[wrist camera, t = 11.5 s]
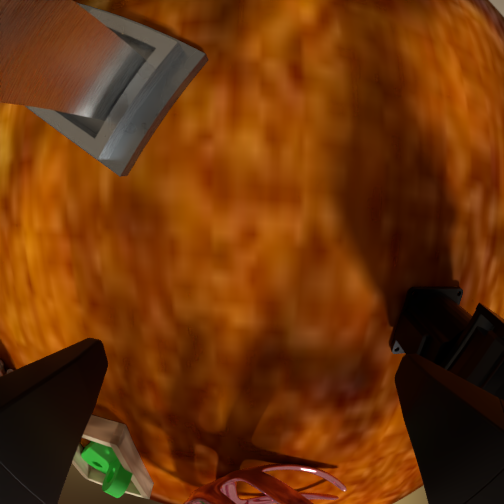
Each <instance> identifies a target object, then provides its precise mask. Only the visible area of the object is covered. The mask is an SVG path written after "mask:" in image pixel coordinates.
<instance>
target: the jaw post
mask: <svg viewBox="0 0 504 504" xmlns="http://www.w3.org/2000/svg"><path fill="white" fill-rule="evenodd" d="M146 61H147V60H145V59H144V58H143V57H142V56H141V55H140V54H139V53H137V52H136V51H135V50H134V49H133V48H132V47H130V46H129V45H128V44H127V43H126V42H125V41H123V40H122V39H121V38H120V37H119V36H117V35H116V34H115V33H114V32H113V31H111V30H110V29H109V28H108V27H106V26H105V25H104V24H103V23H101V22H100V21H99V20H98V19H96V18H95V17H94V16H93V15H91V14H90V13H89V12H87V11H86V10H85V9H83V8H82V7H81V6H79V5H78V4H77V3H75V2H74V1H73V0H0V102H2V103H10V104H17V105H25V106H31V107H37V108H43V109H49V110H55V111H60V112H65V113H70V114H75V115H80V116H85V117H89V118H94V119H98V120H102V121H105V120H106V119H107V117H108V115H109V114H110V112H111V111H112V109H113V107H114V106H115V104H116V103H117V101H118V100H119V98H120V97H121V95H122V94H123V92H124V91H125V89H126V88H127V86H128V85H129V83H130V82H131V81H132V79H133V78H134V76H135V75H136V74H137V72H138V71H139V70H140V68H141V67H142V66H143V64H144V63H145V62H146Z"/></svg>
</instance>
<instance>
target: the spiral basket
mask: <svg viewBox="0 0 504 504" xmlns="http://www.w3.org/2000/svg"><path fill="white" fill-rule="evenodd" d="M273 470H297V471H303V472H308V473H311V474H314V475H317V476H320V477H322V478H324V479H326V480H328V481H330V482H331V483H333V484H334V485H335V486H337V487H338V488H339V489H341V490H342V491H346V487H345V485H344V484H343V483H342V482H341V481H339V480H338V479H337V478H335V477H334V476H332V475H331V474H329V473H327V472H325V471H323V470H320V469H317V468H314V467H310V466H306V465H300V464H268V465H261V466H255V467H249V468H244V469H240V470H236V471H233V472H230V473H228V474H227V475H225V476H223V477H221V478H219V479H217V480H215V481H213V482H211V483H209V484H206V485H203V486H201V487H199V488H197V489H196V490H194V491H193V492H192V493H191V494H190V496H189V498H188V499H187V501H186V502H185V503H184V504H273V503H277V504H313V503H312V502H311V501H309V500H308V499H329V500H335V499H338V497H337V496H334V495H329V494H320V493H299V492H297V491H296V490H294V489H293V488H291V487H290V486H288V485H287V484H285V483H283V482H282V481H280V480H278V479H277V478H275V477H273V476H271V475H269V474H266V473H264V472H266V471H273ZM237 481H244V482H247V483H249V484H250V485H252V486H253V487H255V488H256V489H258V490H259V491H261V492H262V493H264V494H265V496H259V497H254V498H249V499H240V498H239V497H238V494H237Z"/></svg>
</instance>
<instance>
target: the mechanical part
mask: <svg viewBox="0 0 504 504" xmlns="http://www.w3.org/2000/svg"><path fill="white" fill-rule="evenodd" d="M81 457H82V458H83V460H84V461H85V462H87V463H88V464H89V465H91V466H92V467H94V468H95V469H97V470H99V471H100V472H102V473H104V474H106V476H105V478H104V481H103V485H102V490H103V491H104V492H106V493H108V494H110V495H112V496H114V497H116V498H119V497H121V496H122V495H123V494H124V492H125V491H126V489H127V488H128V486H129V483H130V481H131V478H132V475H133V473H131V472H129V471H127V470H125V469H124V468H123V466H122V464H121V463H120V461H119V459H118V458H117V456H116V454H115V452H114V451H113V449H112V447H109V446H106V445H102V444H99V443H96V442H94V441H91V442H90V443H89V444H88V445H87V446H85V448H84V450H83V452H82V454H81Z"/></svg>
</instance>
